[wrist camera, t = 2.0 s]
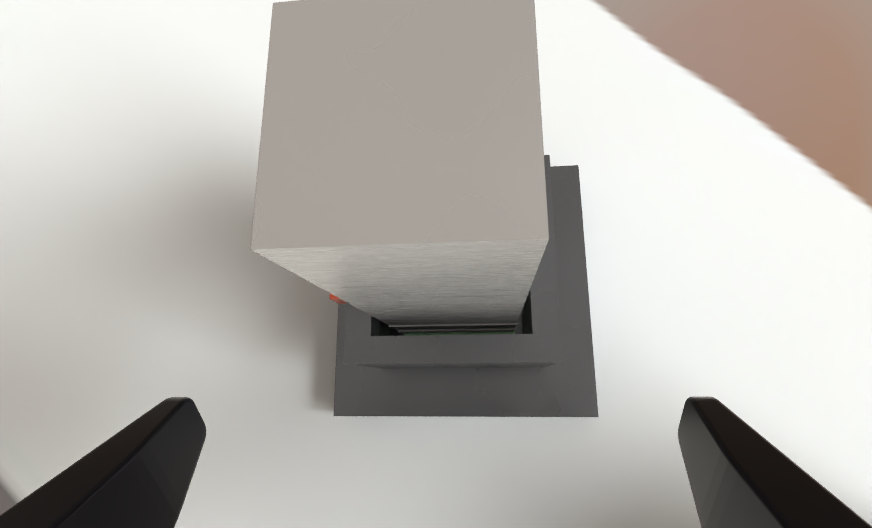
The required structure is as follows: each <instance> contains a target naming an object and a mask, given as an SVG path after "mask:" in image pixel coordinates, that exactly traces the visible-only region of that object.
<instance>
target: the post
mask: <svg viewBox="0 0 872 528" xmlns="http://www.w3.org/2000/svg"><path fill="white" fill-rule="evenodd" d="M548 240H549V231H548V215H547V199H546V182H545V166H544V150H543V134H542V118H541V101H540V85H539V69H538V53H537V37H536V20H535V4H534V0H299V1H288V2H278V3H273V9H272V20H271V30H270V41H269V52H268V63H267V74H266V85H265V96H264V107H263V118H262V129H261V140H260V151H259V161H258V172H257V183H256V194H255V205H254V216H253V227H252V238H251V249H250V250H252V251H254V252H256V253H258V254H259V255H261V256H263V257H265V258H267V259H269V260H270V261H272V262H274V263H276V264H278V265H280V266H281V267H283V268H285V269H287V270H289V271H290V272H292V273H294V274H296V275H298V276H300V277H301V278H303V279H305V280H307V281H309V282H311V283H312V284H314V285H316V286H318V287H320V288H322V289H323V290H325V291H327V292H329V293H331V294H332V295H334V296H336V297H338V298H340V299H342V300H343V301H345V302H347V303H349V304H351V305H353V306H354V307H356V308H358V309H360V310H362V311H363V312H365V313H367V314H369V315H371V316H373V317H374V318H376V319H378V320H380V321H382V322H384V323H385V324H387V325H389V327H390V328H395V329H396V330H398V332H399V333H404V336H419V335H488V334H515V330H516V326H517V325H518V319H519V316H520V314H521V311H522V309H523V306H524V303H525V301H526V298H527V295H528V293H529V290H530V287H531V285H532V282H533V280H534V277H535V274H536V272H537V269H538V266H539V264H540V261H541V259H542V256H543V253H544V251H545V248H546V245H547V243H548Z"/></svg>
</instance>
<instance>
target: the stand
mask: <svg viewBox="0 0 872 528" xmlns="http://www.w3.org/2000/svg"><path fill="white" fill-rule="evenodd" d="M544 166H545V182H546V199H547V215H548V231H549V240H548V243H547V245H546V248H545V251H544V253H543V256H542V259H541V261H540V264H539V266H538V269H537V272H536V274H535V277H534V280H533V282H532V285H531V287H530V290H529V293H528V295H527V298H526V301H525V303H524V306H523V309H522V311H521V314H520V316H519V319H518V325H517V326H516V330H515V334H488V335H419V336H404V333H399V332H398V330H396V329H395V328H390V327H389V325H387V324H385V323H384V322H382V321H380V320H378V319H376V318H374V317H373V316H371V315H369V314H367V313H365V312H363V311H362V310H360V309H358V308H356V307H354V306H353V305H351V304H349V303H347V302H345V301H343V300H342V299H340V298H338V297H336V296H334V295H332V294H331V293H330V299H331V300H333V301H335V302H337V303H338V304H339V309H338V331H337V354H336V376H335V398H334V416H485V417H598V407H597V395H596V382H595V369H594V357H593V344H592V332H591V319H590V307H589V294H588V282H587V269H586V257H585V244H584V232H583V219H582V206H581V194H580V181H579V169H578V165H575V166H555V167H550V158H549V155H544Z"/></svg>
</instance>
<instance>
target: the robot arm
mask: <svg viewBox="0 0 872 528" xmlns="http://www.w3.org/2000/svg"><path fill="white" fill-rule="evenodd" d="M205 437H206V426H205V424H204V421H203V419H202V417H201V415H200V413H199V411H198V409H197V407H196V405H195V403H194V402H193V400H192V399H190V398H187V397H171V398H168V399H165V400H164V401H162V402H161V403H159V404H158V405H157V406H155V407H154V408H152V409H151V410H149V411H148V412H147V413H145V414H144V415H142V416H141V417H140V418H138V419H137V420H135V421H134V422H132V423H131V424H130V425H128V426H127V427H125V428H124V429H122V430H121V431H120V432H118V433H117V434H115V435H114V436H113V437H111V438H110V439H108V440H107V441H105V442H104V443H103V444H101V445H100V446H98V447H97V448H95V449H94V450H93V451H91V452H90V453H88V454H87V455H86V456H84V457H83V458H81V459H80V460H78V461H77V462H76V463H74V464H73V465H71V466H70V467H68V468H67V469H66V470H64V471H63V472H61V473H60V474H59V475H57V476H56V477H54V478H53V479H51V480H50V481H49V482H47V483H46V484H44V485H43V486H41V487H40V488H39V489H37V490H36V491H34V492H33V493H31V494H30V495H29V496H27V497H26V498H24V499H23V500H22V501H20V502H19V503H17V504H16V505H14V506H13V507H12V508H10V509H9V510H7V511H6V512H4V513H3V514H2V515H0V528H174V526H175V524H176V521H177V519H178V517H179V514H180V511H181V509H182V506H183V503H184V500H185V497H186V494H187V491H188V488H189V485H190V482H191V479H192V476H193V473H194V471H195V468H196V465H197V462H198V459H199V456H200V453H201V450H202V447H203V444H204V441H205ZM678 439H679V444H680V448H681V452H682V455H683V459H684V463H685V467H686V470H687V474H688V478H689V482H690V486H691V489H692V493H693V497H694V501H695V504H696V508H697V512H698V516H699V519H700V523H701V526H702V528H872V526H871V525H869V524H868V523H867V522H866V521H864V520H863V519H862V518H861V517H860V516H858V515H857V514H856V513H855V512H854V511H852V510H851V509H850V508H849V507H847V506H846V505H845V504H844V503H843V502H841V501H840V500H839V499H838V498H836V497H835V496H834V495H833V494H832V493H830V492H829V491H828V490H827V489H826V488H824V487H823V486H822V485H821V484H819V483H818V482H817V481H816V480H815V479H813V478H812V477H811V476H810V475H809V474H807V473H806V472H805V471H804V470H802V469H801V468H800V467H799V466H798V465H796V464H795V463H794V462H793V461H792V460H790V459H789V458H788V457H787V456H785V455H784V454H783V453H782V452H781V451H779V450H778V449H777V448H776V447H775V446H773V445H772V444H771V443H770V442H768V441H767V440H766V439H765V438H764V437H762V436H761V435H760V434H759V433H758V432H756V431H755V430H754V429H753V428H751V427H750V426H749V425H748V424H747V423H745V422H744V421H743V420H742V419H740V418H739V417H738V416H737V415H736V414H734V413H733V412H732V411H731V410H730V409H728V408H727V407H726V406H725V405H723V404H722V403H721V402H720V401H719V400H717V399H715V398H713V397H689V398H688V399H687V400H686V402H685V405H684V409H683V413H682V416H681V420H680V424H679V429H678Z"/></svg>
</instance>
